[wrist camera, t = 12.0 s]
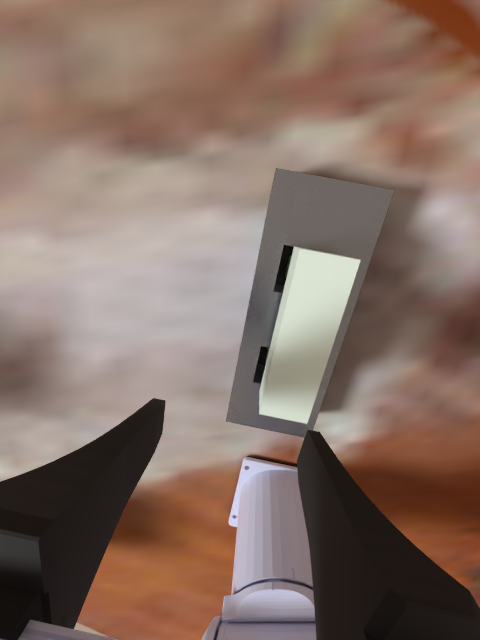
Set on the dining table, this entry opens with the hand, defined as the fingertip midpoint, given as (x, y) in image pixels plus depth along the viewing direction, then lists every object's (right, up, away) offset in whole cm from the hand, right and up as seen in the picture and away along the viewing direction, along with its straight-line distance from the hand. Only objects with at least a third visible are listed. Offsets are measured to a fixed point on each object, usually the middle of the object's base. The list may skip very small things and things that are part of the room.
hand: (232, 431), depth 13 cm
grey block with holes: (+4, +6, +7) cm, 11 cm away
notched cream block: (+4, +6, +8) cm, 11 cm away
